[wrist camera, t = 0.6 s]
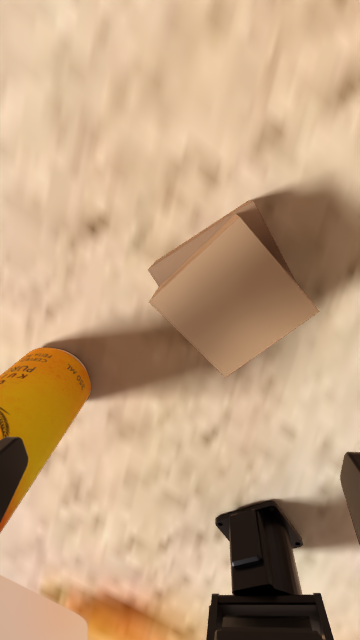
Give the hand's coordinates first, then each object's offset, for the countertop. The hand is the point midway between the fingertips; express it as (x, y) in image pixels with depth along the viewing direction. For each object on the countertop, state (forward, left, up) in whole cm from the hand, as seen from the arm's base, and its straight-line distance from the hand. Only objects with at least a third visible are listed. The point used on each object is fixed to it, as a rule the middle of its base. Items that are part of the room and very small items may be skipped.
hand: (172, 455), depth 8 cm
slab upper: (0, -3, -11) cm, 11 cm away
